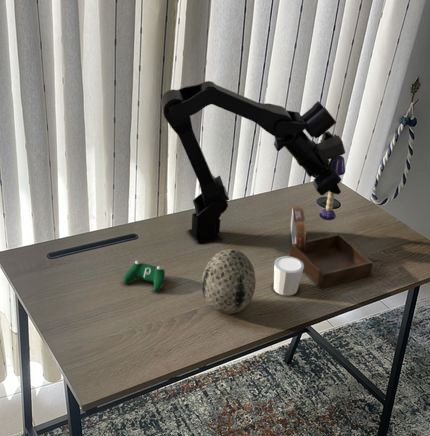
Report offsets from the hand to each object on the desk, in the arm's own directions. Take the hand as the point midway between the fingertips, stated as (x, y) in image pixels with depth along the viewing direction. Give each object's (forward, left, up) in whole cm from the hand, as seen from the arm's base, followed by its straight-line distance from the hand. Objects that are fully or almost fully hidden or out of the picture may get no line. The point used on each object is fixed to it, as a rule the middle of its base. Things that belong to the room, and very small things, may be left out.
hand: (337, 189), depth 173 cm
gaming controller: (-54, -4, -13) cm, 56 cm away
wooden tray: (-9, -14, -13) cm, 21 cm away
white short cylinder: (-25, -18, -13) cm, 33 cm away
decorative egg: (-41, -20, -13) cm, 47 cm away
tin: (-11, -1, -13) cm, 17 cm away
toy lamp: (-1, 0, -8) cm, 8 cm away
